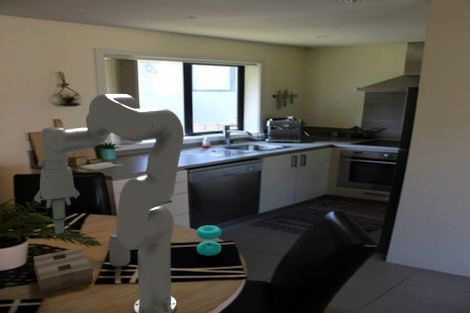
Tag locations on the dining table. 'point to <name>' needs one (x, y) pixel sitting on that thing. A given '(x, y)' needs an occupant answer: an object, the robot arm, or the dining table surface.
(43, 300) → the dining table surface
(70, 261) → the block
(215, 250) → the donuts
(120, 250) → the can
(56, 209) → the peg
